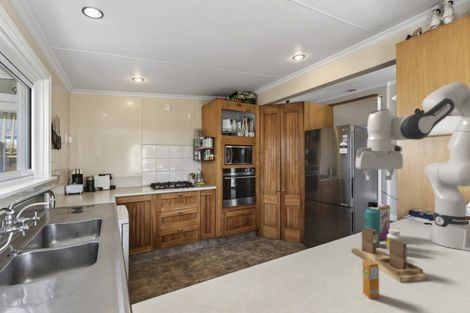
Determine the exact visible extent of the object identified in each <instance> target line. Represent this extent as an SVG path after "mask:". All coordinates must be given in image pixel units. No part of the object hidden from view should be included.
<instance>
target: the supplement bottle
mask: <svg viewBox="0 0 470 313" xmlns="http://www.w3.org/2000/svg"><path fill="white" fill-rule="evenodd" d="M393 239H395V240H399V241H402V240H403V238H402V236H401V231H400V230H399V229H395V228H390V229H389V234H387V238H386V251H387V252H386V253H388V244H390V241H392V240H393Z"/></svg>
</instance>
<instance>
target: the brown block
mask: <svg viewBox="0 0 470 313" xmlns="http://www.w3.org/2000/svg"><path fill="white" fill-rule="evenodd" d="M407 248H408V247H407V241H399V240H395V239H393V240H392V241H390V244H388V252H387V254H389V255H390V266H391V267H393V268H395V269H398V270H402V269H405V268H406V261H407V250H408V249H407Z"/></svg>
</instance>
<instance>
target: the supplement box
mask: <svg viewBox="0 0 470 313" xmlns="http://www.w3.org/2000/svg"><path fill="white" fill-rule="evenodd" d="M379 272H380V269H379V265H378V263H376V262H374V261H373V260H363V259H362V293H363V294H364V295H365V297H367V298H368V299H379V298H380V276H379V274H380V273H379Z"/></svg>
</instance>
